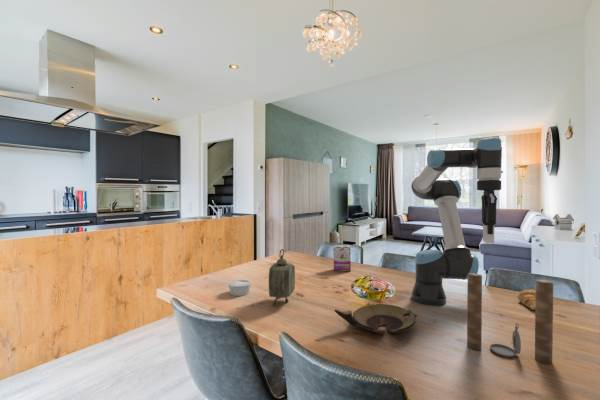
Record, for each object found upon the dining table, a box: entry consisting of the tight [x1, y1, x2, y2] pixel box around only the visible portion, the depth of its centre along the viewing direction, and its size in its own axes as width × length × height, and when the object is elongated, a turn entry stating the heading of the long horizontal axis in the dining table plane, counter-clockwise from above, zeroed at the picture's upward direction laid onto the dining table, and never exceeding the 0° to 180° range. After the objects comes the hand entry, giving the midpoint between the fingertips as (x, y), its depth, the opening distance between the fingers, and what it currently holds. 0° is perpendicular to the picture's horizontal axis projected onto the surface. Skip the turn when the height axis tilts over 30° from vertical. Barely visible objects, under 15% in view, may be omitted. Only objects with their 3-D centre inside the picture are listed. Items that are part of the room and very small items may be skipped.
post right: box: [534, 279, 554, 365], centre depth 84 cm, size 4×4×24 cm
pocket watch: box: [489, 323, 522, 358], centre depth 87 cm, size 8×8×10 cm
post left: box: [466, 273, 483, 351], centre depth 91 cm, size 4×4×24 cm
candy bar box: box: [333, 245, 352, 271], centre depth 185 cm, size 11×5×16 cm, turn 80°
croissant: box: [517, 288, 536, 311], centre depth 127 cm, size 21×10×8 cm, turn 145°
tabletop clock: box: [268, 248, 296, 307], centre depth 130 cm, size 14×9×25 cm, turn 168°
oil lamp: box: [334, 303, 418, 334], centre depth 106 cm, size 22×30×8 cm
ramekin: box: [228, 279, 252, 297], centre depth 143 cm, size 11×11×5 cm
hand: (488, 241), depth 104 cm, fingers open, 3 cm apart
